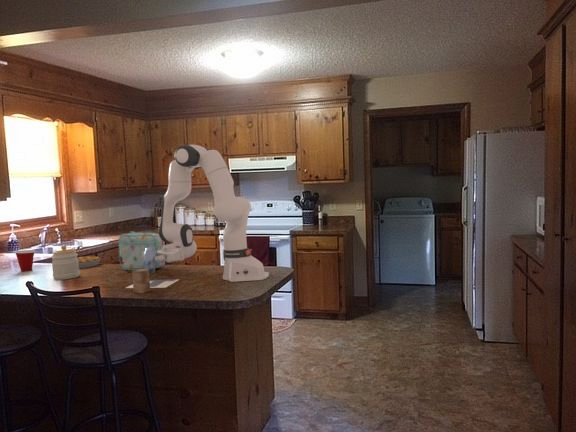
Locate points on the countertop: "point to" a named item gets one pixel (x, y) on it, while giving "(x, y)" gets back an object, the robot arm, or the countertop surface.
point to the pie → (88, 261)
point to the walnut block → (141, 281)
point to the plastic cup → (25, 259)
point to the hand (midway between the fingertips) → (149, 258)
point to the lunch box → (137, 249)
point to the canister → (150, 259)
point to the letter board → (159, 283)
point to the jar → (65, 263)
